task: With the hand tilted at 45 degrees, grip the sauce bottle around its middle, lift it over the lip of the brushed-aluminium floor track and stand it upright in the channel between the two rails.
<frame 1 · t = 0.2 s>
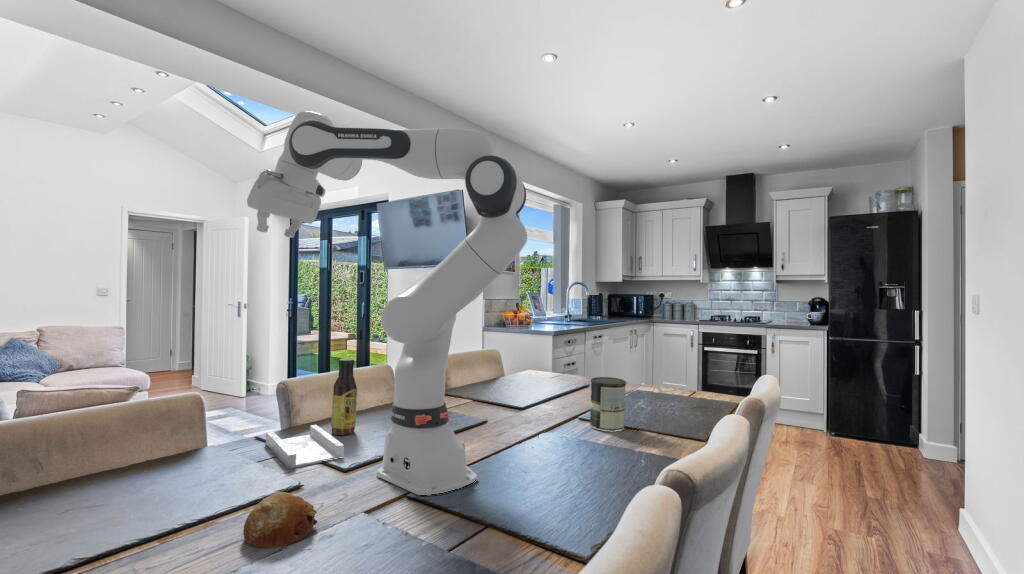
hand: (275, 234, 113), 52 cm above the table, tool tilted 20°, fingers open, 8 cm apart
sauce bottle: (343, 433, 129), on the table
track: (303, 450, 114), on the table
coffee can: (607, 428, 142), on the table
bread roll: (281, 534, 77), on the table
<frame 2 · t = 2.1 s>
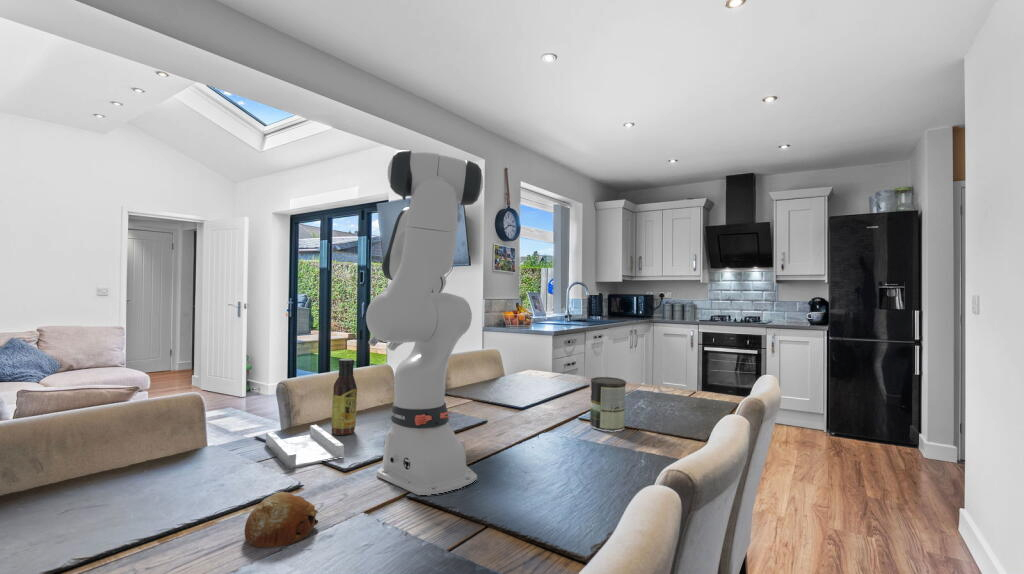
hand: (380, 346, 138), 22 cm above the table, tool tilted 45°, fingers open, 8 cm apart
nothing on the table moved.
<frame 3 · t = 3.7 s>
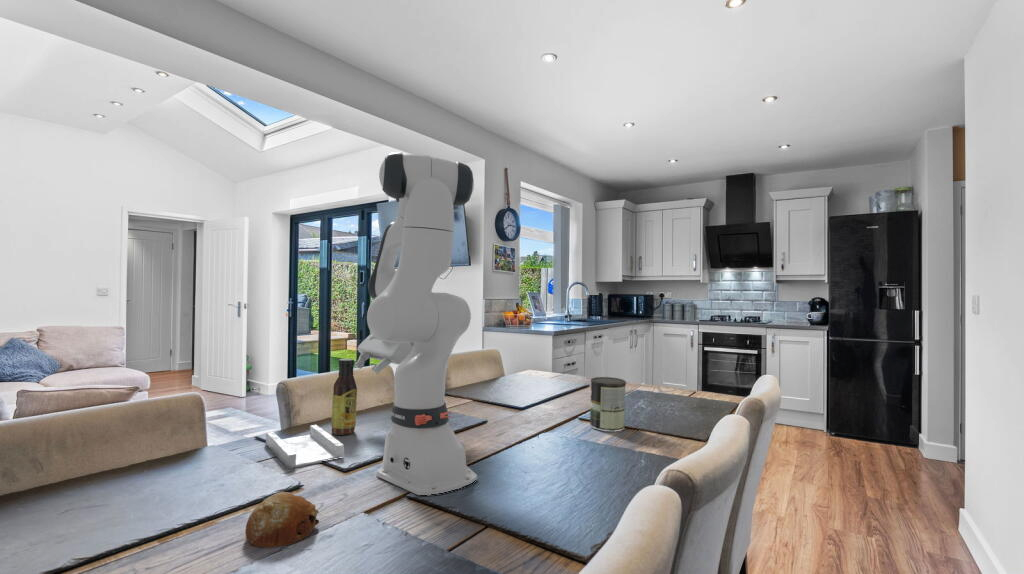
hand: (365, 369, 134), 16 cm above the table, tool tilted 45°, fingers open, 8 cm apart
nothing on the table moved.
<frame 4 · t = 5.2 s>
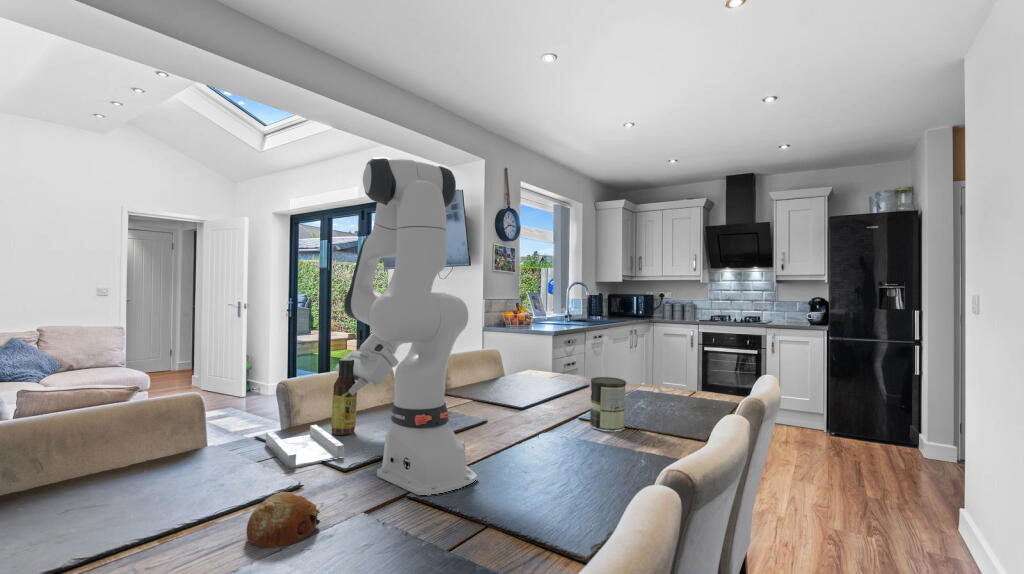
hand: (342, 390, 129), 11 cm above the table, tool tilted 45°, fingers closed on sauce bottle, 6 cm apart
sauce bottle: (343, 433, 129), on the table, touching gripper
everything else where it was.
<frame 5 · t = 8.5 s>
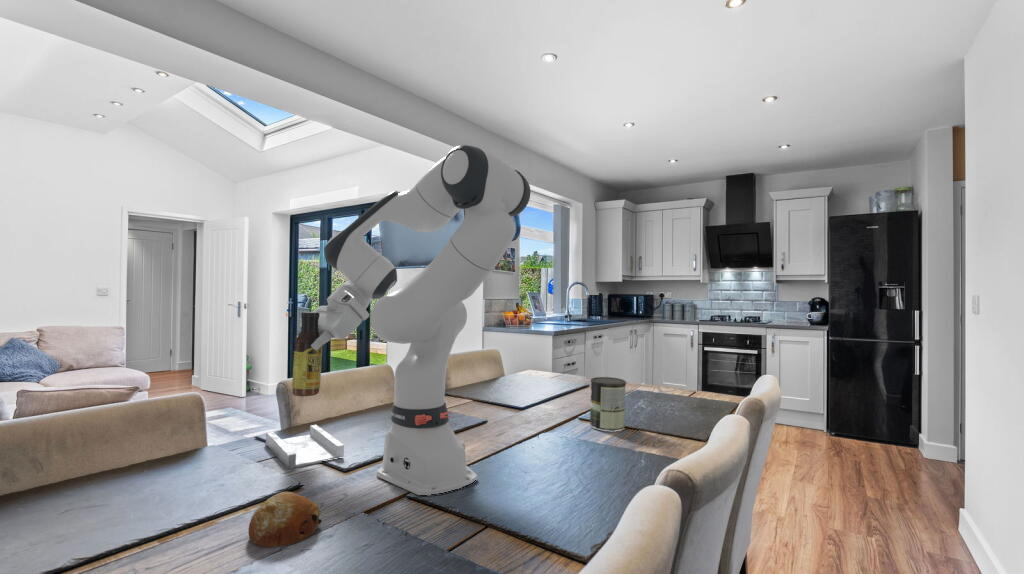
hand: (305, 346, 114), 25 cm above the table, tool tilted 45°, fingers closed on sauce bottle, 6 cm apart
sauce bottle: (306, 395, 114), point 13 cm above the table, touching gripper
everything else where it was.
when the fingers open (13 cm above the table, at t = 11.4 s): sauce bottle stays where it is, resting on track.
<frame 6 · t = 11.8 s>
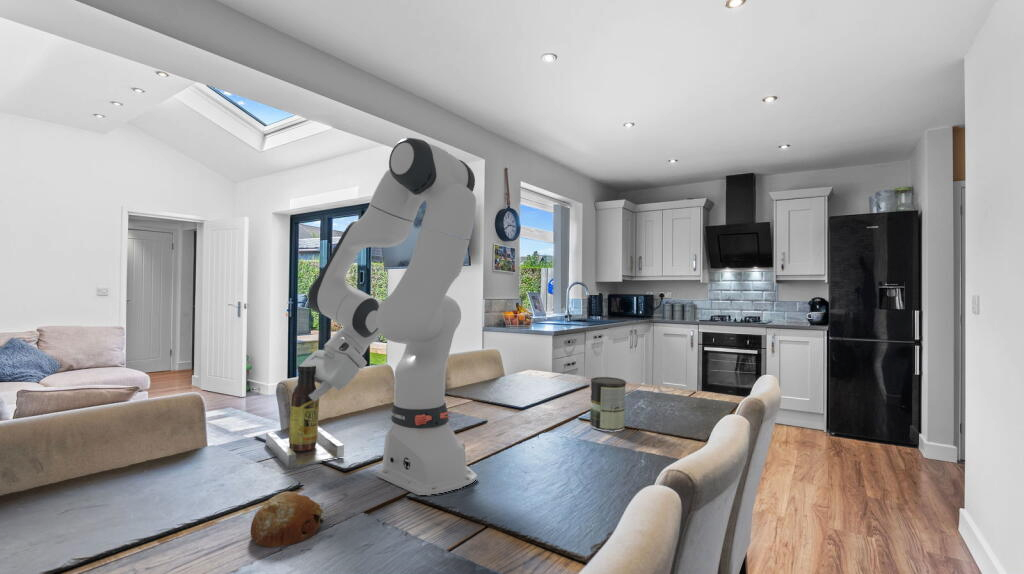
hand: (302, 395, 114), 13 cm above the table, tool tilted 45°, fingers open, 8 cm apart
sauce bottle: (303, 449, 114), resting on track
everything else where it was.
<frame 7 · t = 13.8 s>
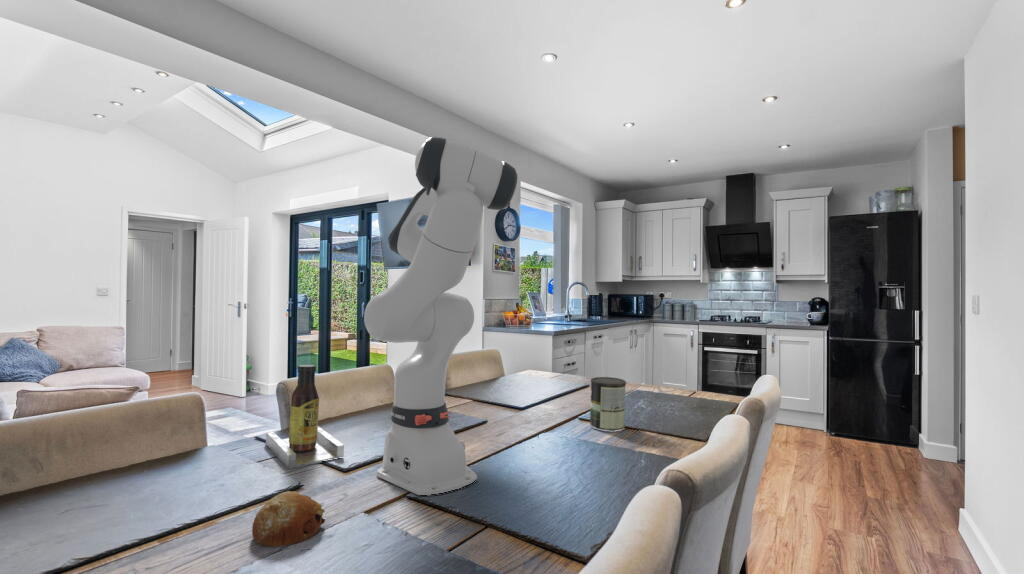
hand: (379, 323, 131), 30 cm above the table, tool tilted 45°, fingers open, 8 cm apart
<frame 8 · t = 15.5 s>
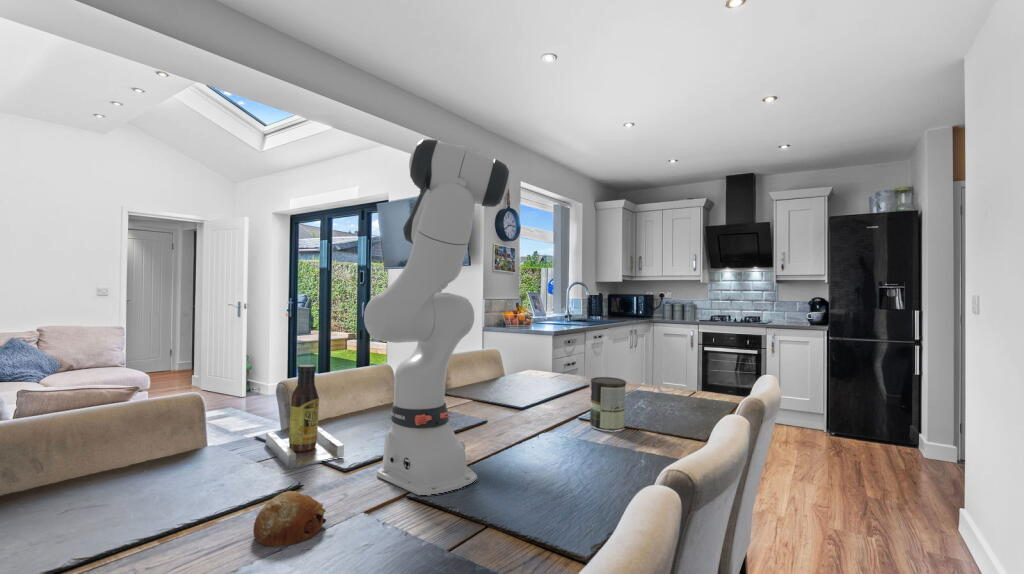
hand: (396, 310, 136), 33 cm above the table, tool tilted 45°, fingers open, 8 cm apart
at the end: sauce bottle inside the target area on the track (0.1 cm from its centre), point 0.4 cm above the track's base; sauce bottle tilted 0°; the gripper is holding nothing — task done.
